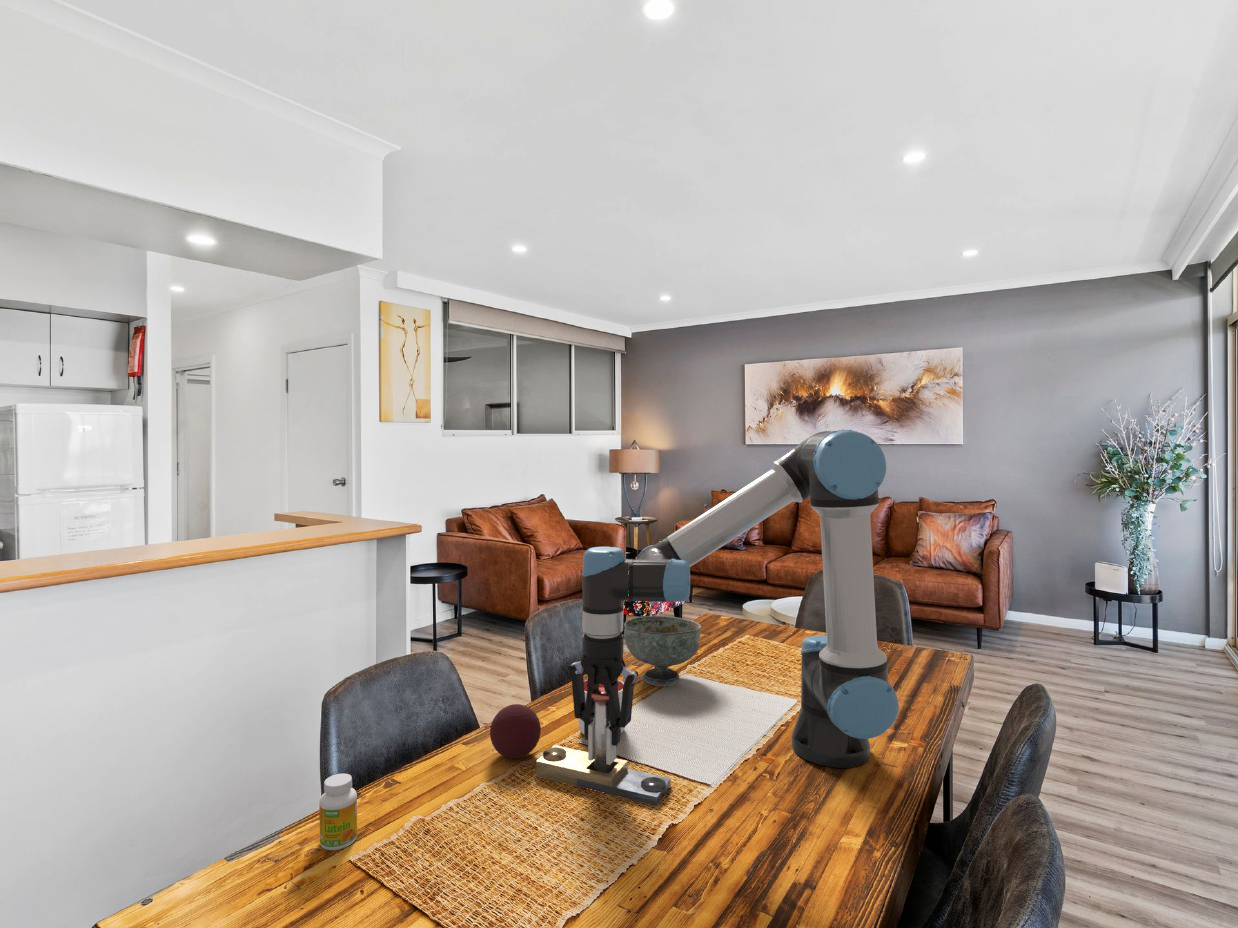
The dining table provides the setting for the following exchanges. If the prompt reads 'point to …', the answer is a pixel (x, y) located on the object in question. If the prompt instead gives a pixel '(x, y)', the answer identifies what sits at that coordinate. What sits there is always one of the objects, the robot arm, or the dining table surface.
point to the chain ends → (600, 776)
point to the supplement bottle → (338, 813)
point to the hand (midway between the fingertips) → (602, 758)
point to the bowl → (662, 645)
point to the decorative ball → (515, 731)
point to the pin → (600, 729)
